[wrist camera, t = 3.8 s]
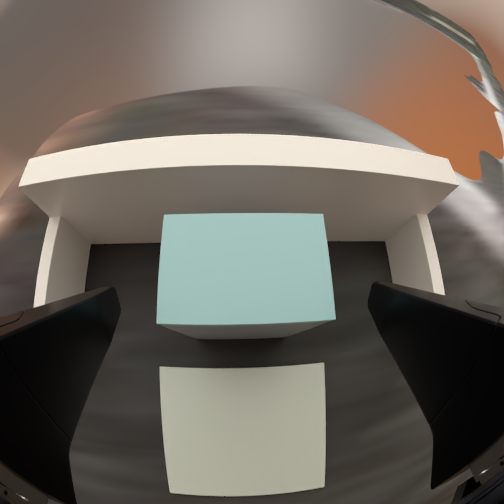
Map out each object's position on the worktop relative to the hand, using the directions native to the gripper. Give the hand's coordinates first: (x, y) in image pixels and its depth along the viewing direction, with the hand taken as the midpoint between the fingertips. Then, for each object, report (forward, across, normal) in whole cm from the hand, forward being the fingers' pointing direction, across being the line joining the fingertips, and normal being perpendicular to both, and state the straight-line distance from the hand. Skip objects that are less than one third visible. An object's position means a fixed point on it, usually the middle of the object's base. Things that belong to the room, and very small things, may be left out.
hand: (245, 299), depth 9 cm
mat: (+2, 0, -13) cm, 13 cm away
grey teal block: (+8, 0, -6) cm, 10 cm away
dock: (+9, 0, -5) cm, 10 cm away
